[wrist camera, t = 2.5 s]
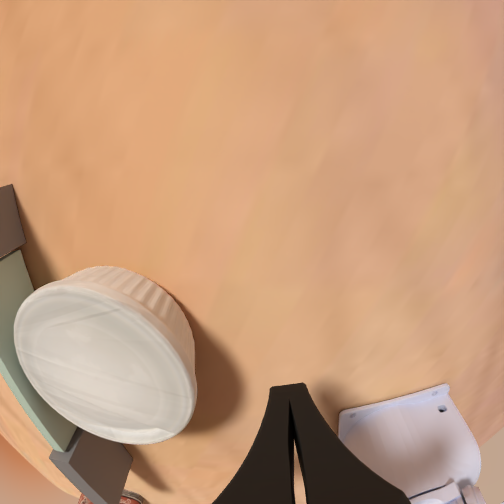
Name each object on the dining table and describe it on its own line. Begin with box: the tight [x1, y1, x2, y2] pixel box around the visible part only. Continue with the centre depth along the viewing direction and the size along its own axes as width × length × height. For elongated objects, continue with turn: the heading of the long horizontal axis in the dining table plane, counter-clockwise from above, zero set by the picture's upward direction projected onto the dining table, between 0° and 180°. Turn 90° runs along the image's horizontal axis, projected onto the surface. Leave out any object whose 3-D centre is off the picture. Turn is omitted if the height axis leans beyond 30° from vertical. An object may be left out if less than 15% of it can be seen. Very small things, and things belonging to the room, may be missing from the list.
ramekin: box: [14, 266, 197, 445], centre depth 17 cm, size 11×11×5 cm
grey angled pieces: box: [0, 184, 133, 504], centre depth 17 cm, size 2×26×6 cm, turn 9°
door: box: [0, 250, 78, 452], centre depth 16 cm, size 2×13×6 cm, turn 9°
